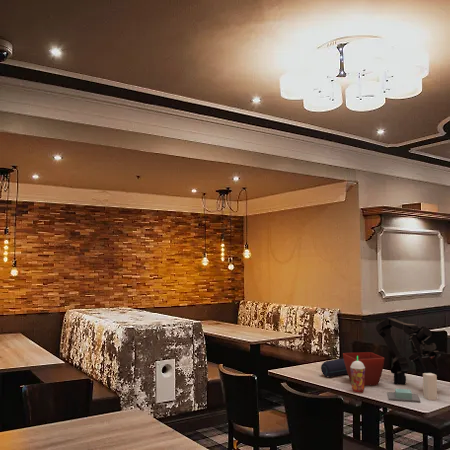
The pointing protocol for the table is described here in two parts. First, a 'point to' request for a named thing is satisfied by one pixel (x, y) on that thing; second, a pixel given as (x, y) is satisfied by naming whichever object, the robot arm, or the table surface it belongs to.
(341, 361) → the portable speaker
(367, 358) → the plant pot
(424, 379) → the cream pillar
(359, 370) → the smoothie
